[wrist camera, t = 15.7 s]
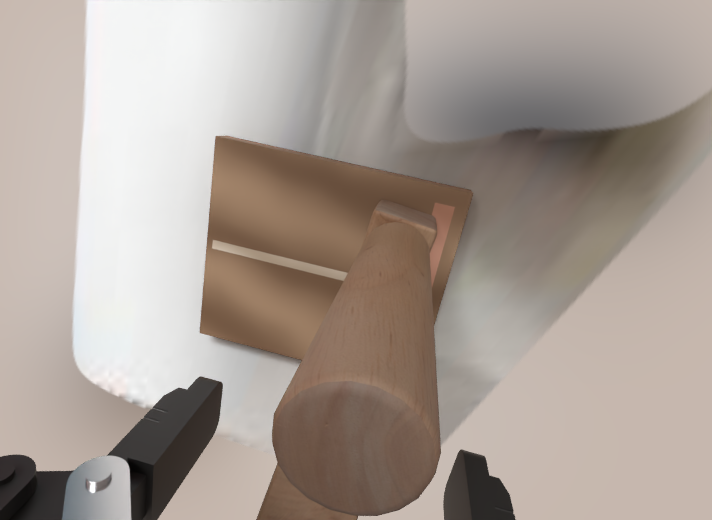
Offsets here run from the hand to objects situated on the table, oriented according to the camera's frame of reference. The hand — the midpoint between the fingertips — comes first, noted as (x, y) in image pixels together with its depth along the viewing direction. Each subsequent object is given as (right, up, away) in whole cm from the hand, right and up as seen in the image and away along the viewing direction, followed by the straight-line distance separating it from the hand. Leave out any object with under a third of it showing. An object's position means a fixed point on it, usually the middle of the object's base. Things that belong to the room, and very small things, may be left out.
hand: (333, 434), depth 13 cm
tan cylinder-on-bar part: (+2, +4, +13) cm, 14 cm away
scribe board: (-1, +6, +15) cm, 16 cm away
